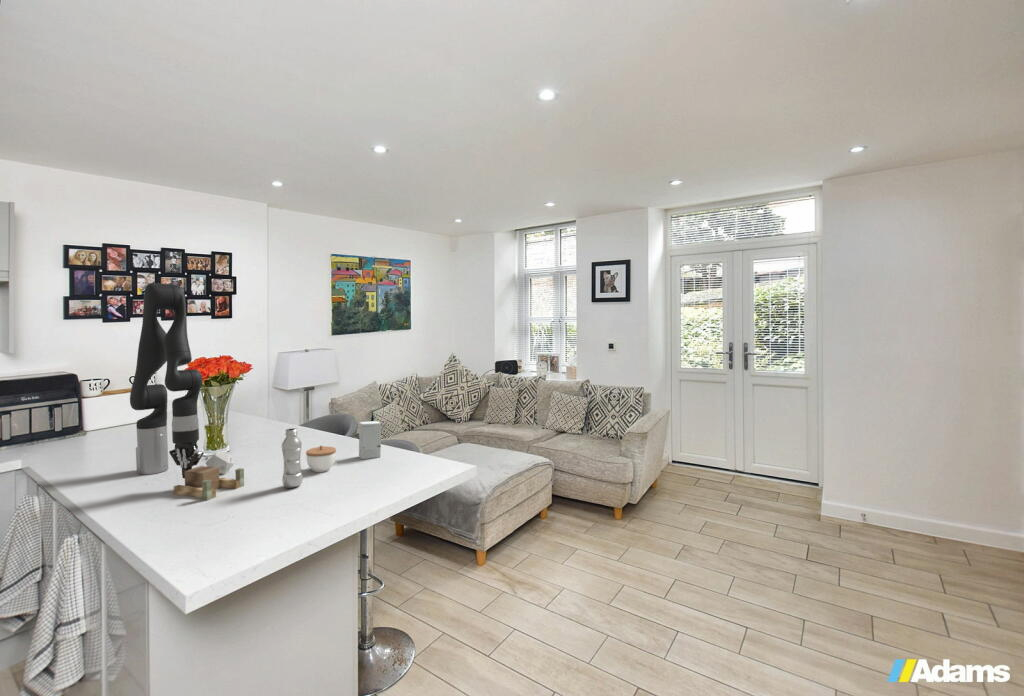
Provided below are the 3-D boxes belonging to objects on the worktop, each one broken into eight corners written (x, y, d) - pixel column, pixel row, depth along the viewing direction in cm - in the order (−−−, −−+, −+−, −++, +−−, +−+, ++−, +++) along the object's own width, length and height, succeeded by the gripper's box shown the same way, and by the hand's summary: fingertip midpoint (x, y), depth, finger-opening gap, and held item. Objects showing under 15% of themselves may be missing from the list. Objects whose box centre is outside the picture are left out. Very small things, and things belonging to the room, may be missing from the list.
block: (185, 491, 159) (184, 471, 158) (201, 485, 164) (200, 466, 164) (203, 493, 156) (203, 473, 156) (219, 487, 162) (218, 467, 162)
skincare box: (361, 459, 196) (360, 424, 195) (358, 456, 201) (358, 421, 201) (381, 457, 200) (381, 422, 199) (378, 453, 205) (378, 419, 204)
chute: (169, 495, 155) (168, 477, 155) (208, 481, 169) (207, 465, 168) (207, 500, 151) (206, 481, 150) (244, 485, 164) (243, 468, 164)
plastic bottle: (282, 491, 159) (281, 432, 158) (282, 485, 165) (280, 428, 164) (303, 488, 162) (302, 430, 161) (302, 482, 168) (300, 426, 167)
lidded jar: (316, 475, 175) (315, 450, 175) (301, 470, 182) (300, 446, 181) (341, 468, 184) (341, 445, 183) (326, 464, 190) (326, 441, 190)
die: (213, 480, 172) (231, 457, 175) (196, 467, 174) (214, 445, 176) (226, 481, 180) (243, 459, 183) (209, 469, 181) (226, 447, 184)
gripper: (160, 429, 159) (161, 479, 160) (190, 431, 156) (192, 483, 156) (181, 424, 166) (182, 473, 167) (210, 427, 163) (212, 476, 164)
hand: (187, 477), depth 162 cm, fingers closed
